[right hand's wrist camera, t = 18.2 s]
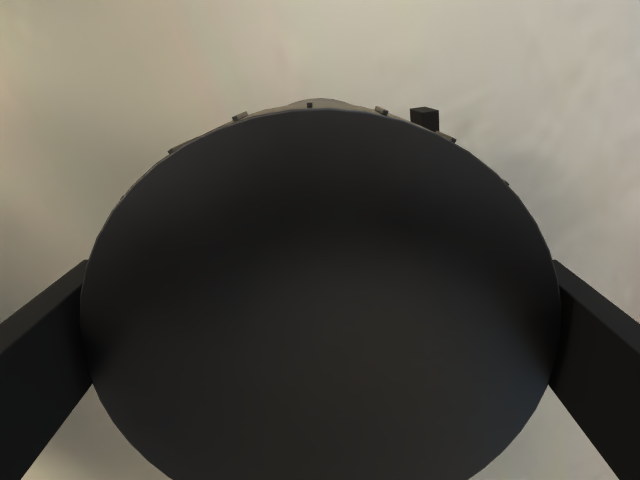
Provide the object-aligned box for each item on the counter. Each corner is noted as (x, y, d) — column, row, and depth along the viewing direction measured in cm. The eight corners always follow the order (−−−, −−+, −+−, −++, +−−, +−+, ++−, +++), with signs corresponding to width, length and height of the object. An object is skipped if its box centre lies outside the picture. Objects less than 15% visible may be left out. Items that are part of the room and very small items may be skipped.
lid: (572, 107, 10) (626, 113, 8) (491, 473, 14) (515, 529, 12) (81, 92, 10) (30, 95, 8) (139, 466, 14) (113, 521, 12)
